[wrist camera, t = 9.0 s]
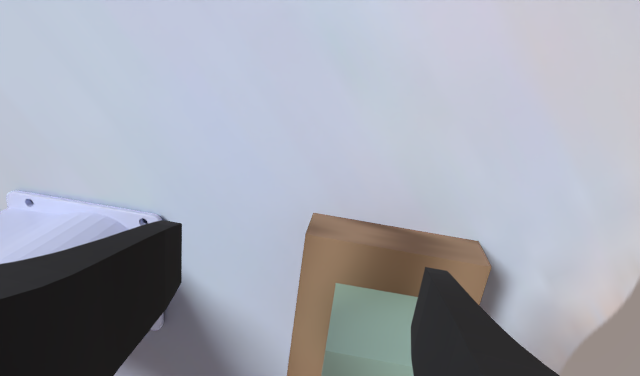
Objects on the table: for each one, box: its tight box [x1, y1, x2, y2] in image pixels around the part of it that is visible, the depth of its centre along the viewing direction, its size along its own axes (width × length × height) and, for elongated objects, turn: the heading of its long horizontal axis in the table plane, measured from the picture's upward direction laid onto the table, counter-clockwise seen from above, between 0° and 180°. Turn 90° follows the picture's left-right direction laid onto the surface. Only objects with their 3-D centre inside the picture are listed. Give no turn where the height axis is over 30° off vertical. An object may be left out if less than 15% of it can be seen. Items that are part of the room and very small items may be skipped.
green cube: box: [321, 283, 418, 376], centre depth 19 cm, size 5×5×5 cm
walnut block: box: [287, 213, 491, 376], centre depth 23 cm, size 9×9×3 cm
